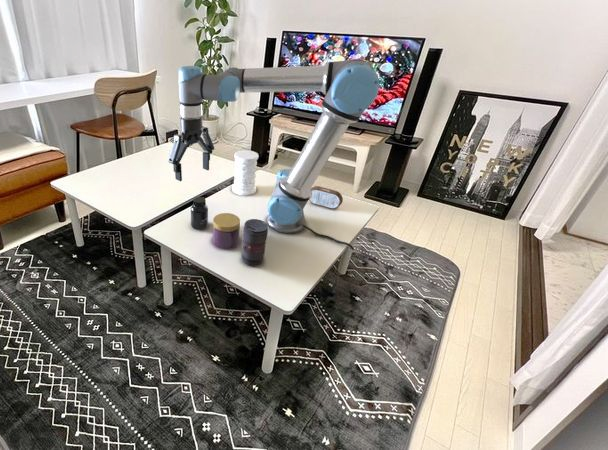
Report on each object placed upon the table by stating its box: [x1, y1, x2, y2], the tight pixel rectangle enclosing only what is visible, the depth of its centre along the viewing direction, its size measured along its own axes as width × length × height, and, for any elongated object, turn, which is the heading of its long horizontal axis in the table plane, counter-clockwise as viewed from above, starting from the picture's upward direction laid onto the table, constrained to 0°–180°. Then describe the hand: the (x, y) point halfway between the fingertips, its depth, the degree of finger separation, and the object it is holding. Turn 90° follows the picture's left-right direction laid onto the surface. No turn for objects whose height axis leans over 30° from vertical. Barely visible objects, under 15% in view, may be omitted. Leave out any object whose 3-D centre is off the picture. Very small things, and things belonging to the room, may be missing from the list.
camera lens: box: [241, 218, 269, 267], centre depth 116 cm, size 8×8×15 cm
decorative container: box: [231, 149, 260, 196], centre depth 160 cm, size 12×12×18 cm
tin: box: [308, 185, 344, 210], centre depth 150 cm, size 15×3×8 cm, turn 58°
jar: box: [212, 225, 241, 250], centre depth 127 cm, size 10×10×9 cm
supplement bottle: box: [190, 196, 209, 231], centre depth 135 cm, size 7×7×12 cm
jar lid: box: [212, 212, 241, 232], centre depth 125 cm, size 10×10×2 cm
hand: (192, 174), depth 127 cm, fingers open, 13 cm apart
